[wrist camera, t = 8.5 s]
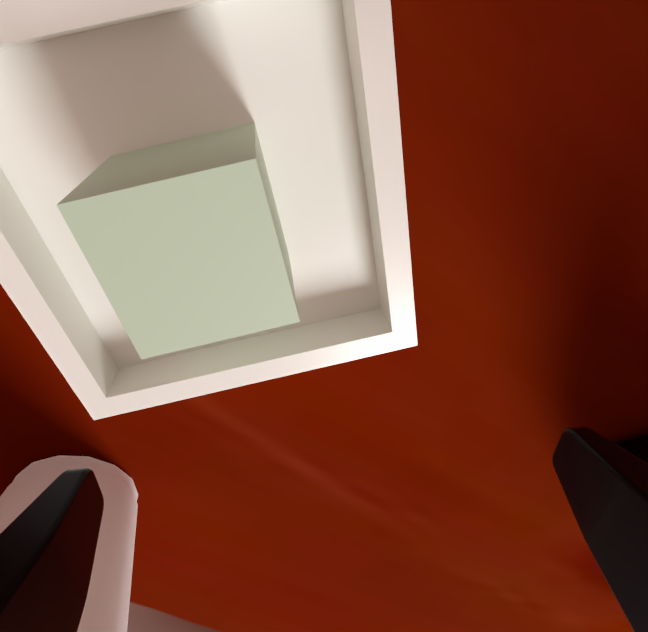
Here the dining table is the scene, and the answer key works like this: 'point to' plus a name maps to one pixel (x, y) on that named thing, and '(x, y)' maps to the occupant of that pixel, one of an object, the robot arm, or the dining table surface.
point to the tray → (193, 120)
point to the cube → (186, 241)
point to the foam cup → (113, 541)
